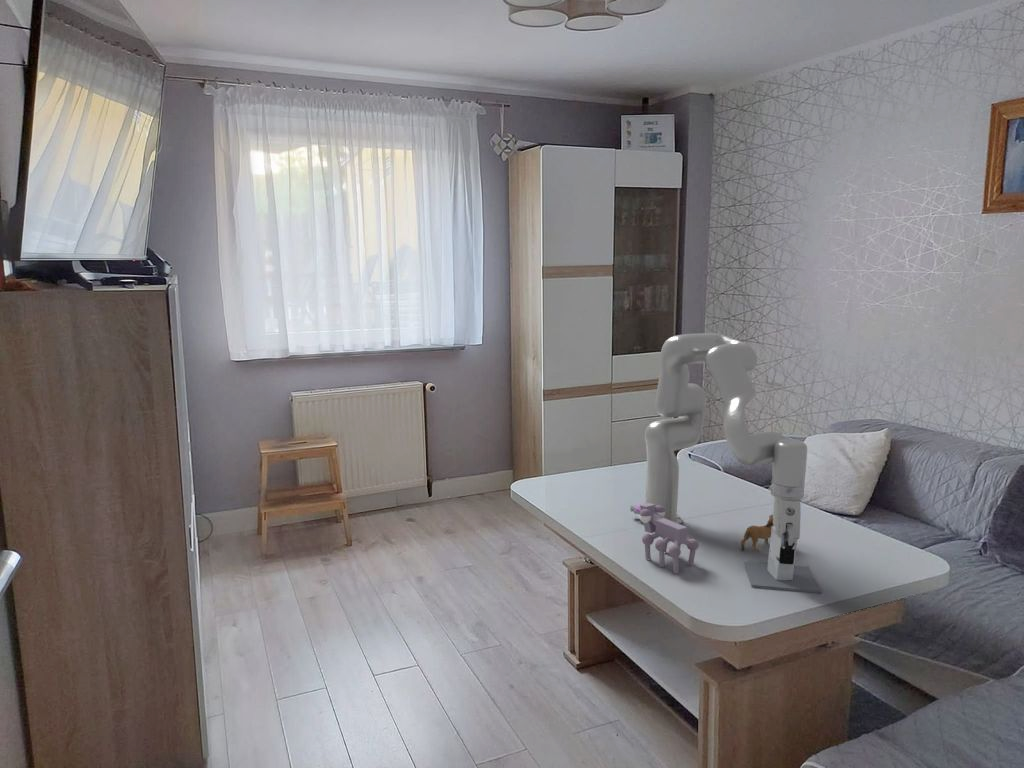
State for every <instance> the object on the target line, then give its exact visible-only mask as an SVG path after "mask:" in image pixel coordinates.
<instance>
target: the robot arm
mask: <svg viewBox="0 0 1024 768" xmlns="http://www.w3.org/2000/svg"><path fill="white" fill-rule="evenodd" d="M694 364H695V365H697V364H706V366H707V369H708V371H709V372H710V375H711V377H712V380H713V381H714V384H715V385H716V388H717V389H718V393H719V394H720V396H721V398H722V400H723V402H724V406H725V408H724V412H723V418H722V419H723V420H722V423H723V424H722V428H723V430H722V431H723V433H724V434H723V435H724V438H725V440H726V442H727V443H728V446H729V448H730V450H731V452H732V454H733V456H734V457H735V459H736V460H737V461H738V462H739V463H740V464H742V465H744V466H750V467H751V466H757V465H761V464H770V463H771V464H772V472H771V473H772V474H771V487H770V495H771V496H772V497H774V498H773V499H774V501H773V511H772V515H773V526H774V527H775V529H776V533H777V535H778V536H779V537H780V538H781V543H782V547H780V558H779V562H780V563H781V564H793V563H794V551H795V543H794V537H795V538H796V539H797V540H799V539H800V538H801V514H802V513H801V512H802V510H801V500H803V499H804V497H805V496H804V495H805V487H806V486H805V483H806V473H807V472H806V471H807V460H808V445H807V444H806V443H805V442H804V441H801V440H799V439H792V438H788V437H786V436H785V435H782V434H780V433H779V432H773V431H770V432H769V431H768V432H761V433H754V434H751V433H750V431H749V429H748V427H747V425H746V422H745V418H744V415H745V409H746V407H747V405H748V404H750V403H751V402H752V401H753V400H754V399H756V397H757V394H758V393H757V392H758V391H757V389H756V387H755V386H754V383H753V382H752V379H751V377H750V376H749V373H751V372H753V371H755V369H756V367H757V366H758V355H757V352H756V351H755V349H754V348H753V347H752V346H751V345H750V344H748V343H746V342H744V341H741V340H738V339H735V338H733V337H730V336H727V335H725V334H721V333H718V332H704V333H703V332H702V333H684V334H677V335H673V336H670V337H669V338H668V339H666V340H665V341H664V343H663V345H662V347H661V351H660V372H659V376H658V383H657V387H656V388H657V389H656V394H655V395H656V396H655V401H654V402H655V403H654V405H655V406H654V407H655V411H656V413H657V414H658V415H659V416H660V417H662V418H663V417H664V419H659V420H656V421H652V422H651V423H649V425H647V427H646V428H645V431H644V441H645V447H646V483H645V484H646V485H645V486H646V488H645V502H644V503H643V504H646V503H651V504H655V506H657V505H661V506H663V507H664V509H665V515H664V517H663V518H665V519H668V520H670V521H673V522H675V523H678V524H680V525H682V522H683V519H682V518H683V517H682V516H680V515H679V514H678V498H679V496H678V495H679V482H680V481H679V478H680V477H679V476H680V464H679V460H678V459H677V456H676V454H675V451H679V450H683V449H688V448H692V447H694V446H696V445H697V443H699V441H700V439H701V436H702V431H703V425H704V422H705V421H704V420H705V415H706V410H707V397H706V396H707V395H706V393H705V391H704V389H703V388H702V387H701V386H700V385H699V384H696V383H691V382H690V377H691V376H690V375H691V374H690V370H689V369H690V368H689V366H688V365H694ZM689 382H690V383H689ZM637 506H638V505H633V504H630V509H629V510H630V511H629V512H633V514H635V515H640V514H639V513H638V512H637V511H636V509H635V508H634V507H637ZM661 519H662V518H661ZM784 534H787V535H788V536H786V535H784ZM785 539H787V540H788V541H787V540H786V542H785ZM794 564H795V563H794Z"/></svg>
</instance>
